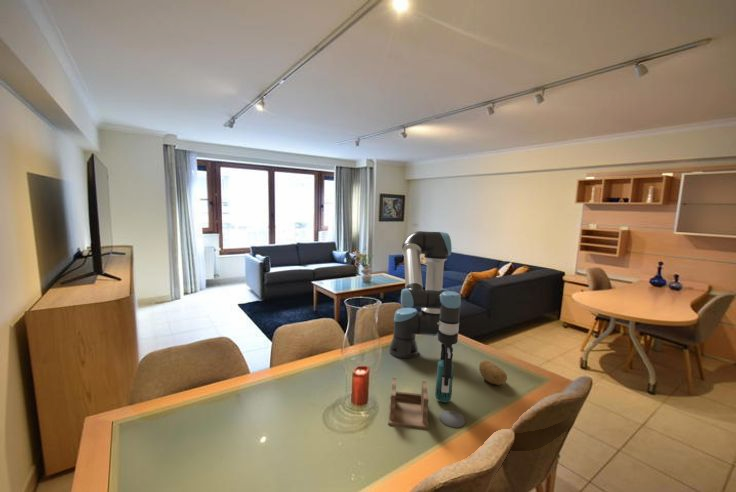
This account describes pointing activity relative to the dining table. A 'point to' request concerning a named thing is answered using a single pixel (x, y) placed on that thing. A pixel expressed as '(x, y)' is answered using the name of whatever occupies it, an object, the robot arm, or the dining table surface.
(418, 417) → the holder
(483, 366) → the potato
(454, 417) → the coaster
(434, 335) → the robot arm
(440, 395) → the beverage bottle
